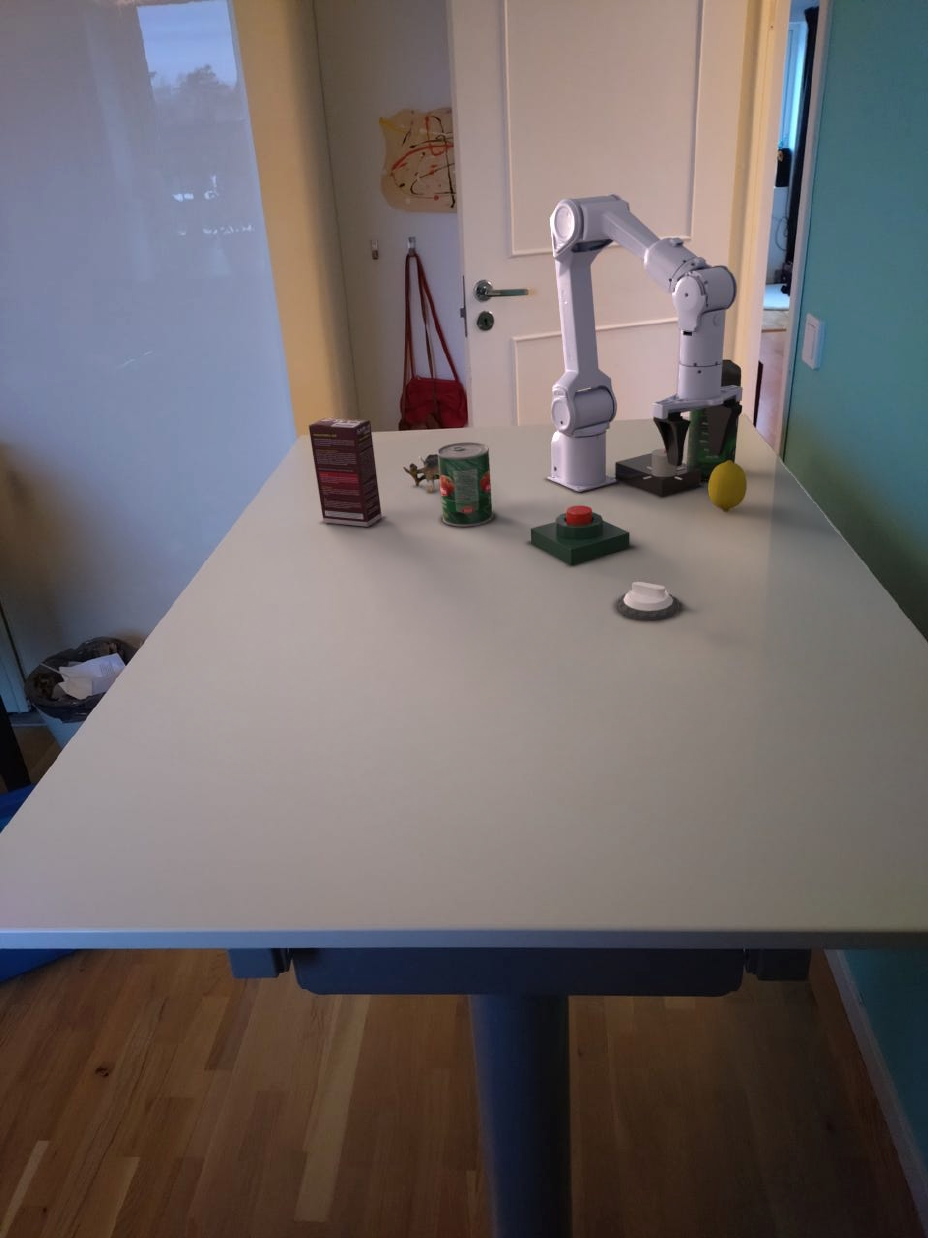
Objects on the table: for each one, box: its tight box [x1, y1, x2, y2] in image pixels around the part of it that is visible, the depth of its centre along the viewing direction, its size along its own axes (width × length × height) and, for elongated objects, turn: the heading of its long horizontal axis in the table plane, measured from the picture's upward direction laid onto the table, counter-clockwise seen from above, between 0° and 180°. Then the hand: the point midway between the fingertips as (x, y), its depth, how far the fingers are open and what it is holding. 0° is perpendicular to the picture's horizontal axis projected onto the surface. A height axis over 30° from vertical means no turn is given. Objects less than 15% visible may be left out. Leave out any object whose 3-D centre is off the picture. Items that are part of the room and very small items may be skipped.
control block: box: [530, 511, 630, 566], centre depth 127 cm, size 10×10×4 cm
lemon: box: [707, 460, 748, 513], centre depth 134 cm, size 6×6×8 cm
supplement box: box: [308, 417, 382, 528], centre depth 140 cm, size 9×5×16 cm, turn 65°
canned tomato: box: [436, 441, 494, 528], centre depth 138 cm, size 8×8×11 cm
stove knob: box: [617, 581, 680, 622], centre depth 108 cm, size 7×7×3 cm
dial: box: [651, 448, 677, 477], centre depth 143 cm, size 4×4×4 cm
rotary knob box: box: [614, 452, 701, 498], centre depth 148 cm, size 14×10×3 cm
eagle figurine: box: [403, 453, 440, 493], centre depth 153 cm, size 8×7×9 cm
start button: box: [565, 504, 593, 525], centre depth 126 cm, size 4×4×2 cm
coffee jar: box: [686, 358, 742, 481], centre depth 148 cm, size 10×8×19 cm
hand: (695, 459), depth 128 cm, fingers open, 7 cm apart
